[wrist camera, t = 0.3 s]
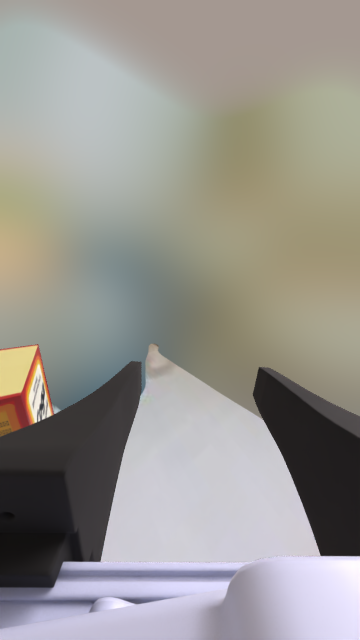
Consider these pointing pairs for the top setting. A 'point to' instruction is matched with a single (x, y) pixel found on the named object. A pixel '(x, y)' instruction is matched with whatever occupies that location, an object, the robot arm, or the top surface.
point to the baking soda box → (22, 389)
